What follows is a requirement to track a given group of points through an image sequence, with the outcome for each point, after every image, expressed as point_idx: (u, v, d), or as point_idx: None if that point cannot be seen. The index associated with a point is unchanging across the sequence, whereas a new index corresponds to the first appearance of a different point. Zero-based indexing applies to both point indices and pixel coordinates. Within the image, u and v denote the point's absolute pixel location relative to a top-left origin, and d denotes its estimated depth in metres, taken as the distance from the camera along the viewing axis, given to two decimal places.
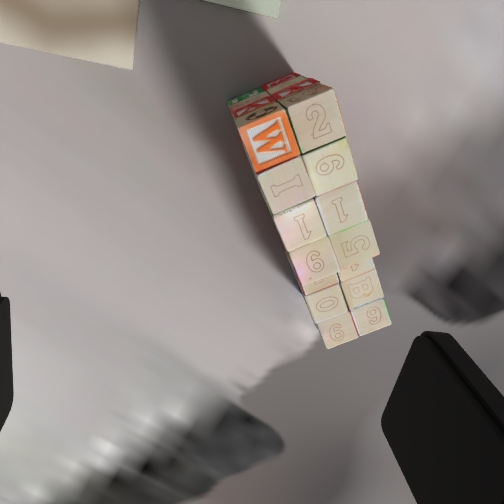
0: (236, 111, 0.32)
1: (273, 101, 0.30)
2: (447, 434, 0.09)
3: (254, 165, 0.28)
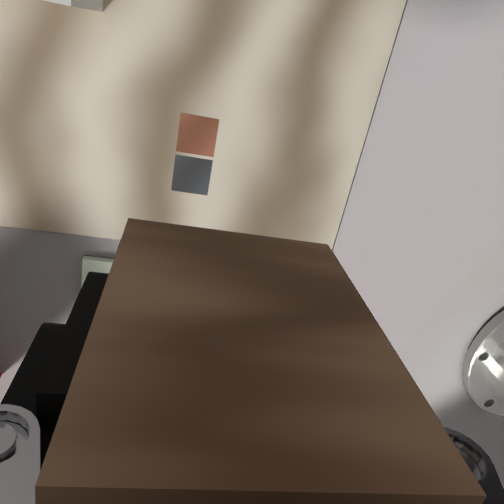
0: None
1: None
2: None
3: None
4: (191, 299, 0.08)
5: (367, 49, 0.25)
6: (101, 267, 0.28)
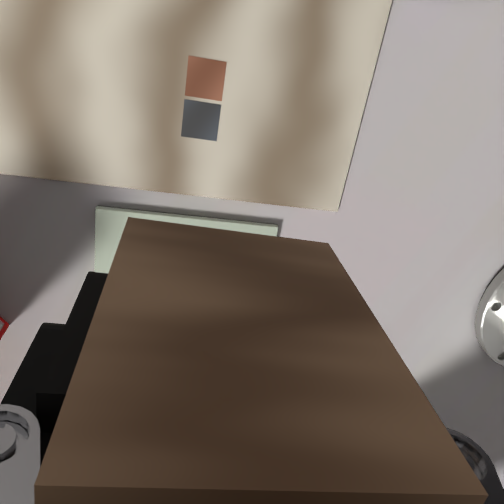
0: None
1: None
2: None
3: None
4: (191, 298, 0.08)
5: None
6: (114, 217, 0.29)
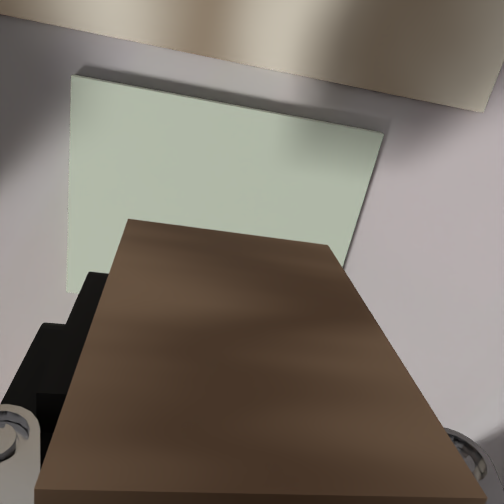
0: None
1: None
2: None
3: None
4: (191, 300, 0.08)
5: None
6: (104, 94, 0.16)
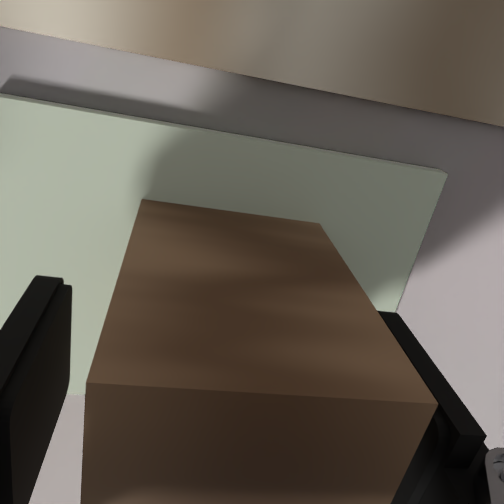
0: None
1: None
2: None
3: None
4: (199, 263, 0.09)
5: None
6: (41, 122, 0.11)
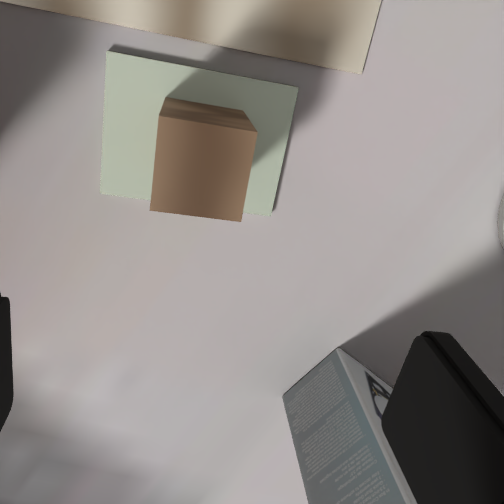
0: None
1: None
2: (447, 434, 0.09)
3: None
4: (189, 109, 0.26)
5: None
6: (126, 62, 0.27)
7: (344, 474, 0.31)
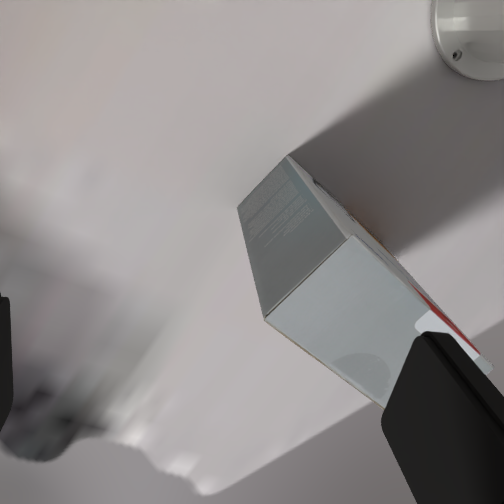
0: None
1: None
2: (447, 434, 0.09)
3: None
4: None
5: None
6: None
7: (279, 221, 0.34)
